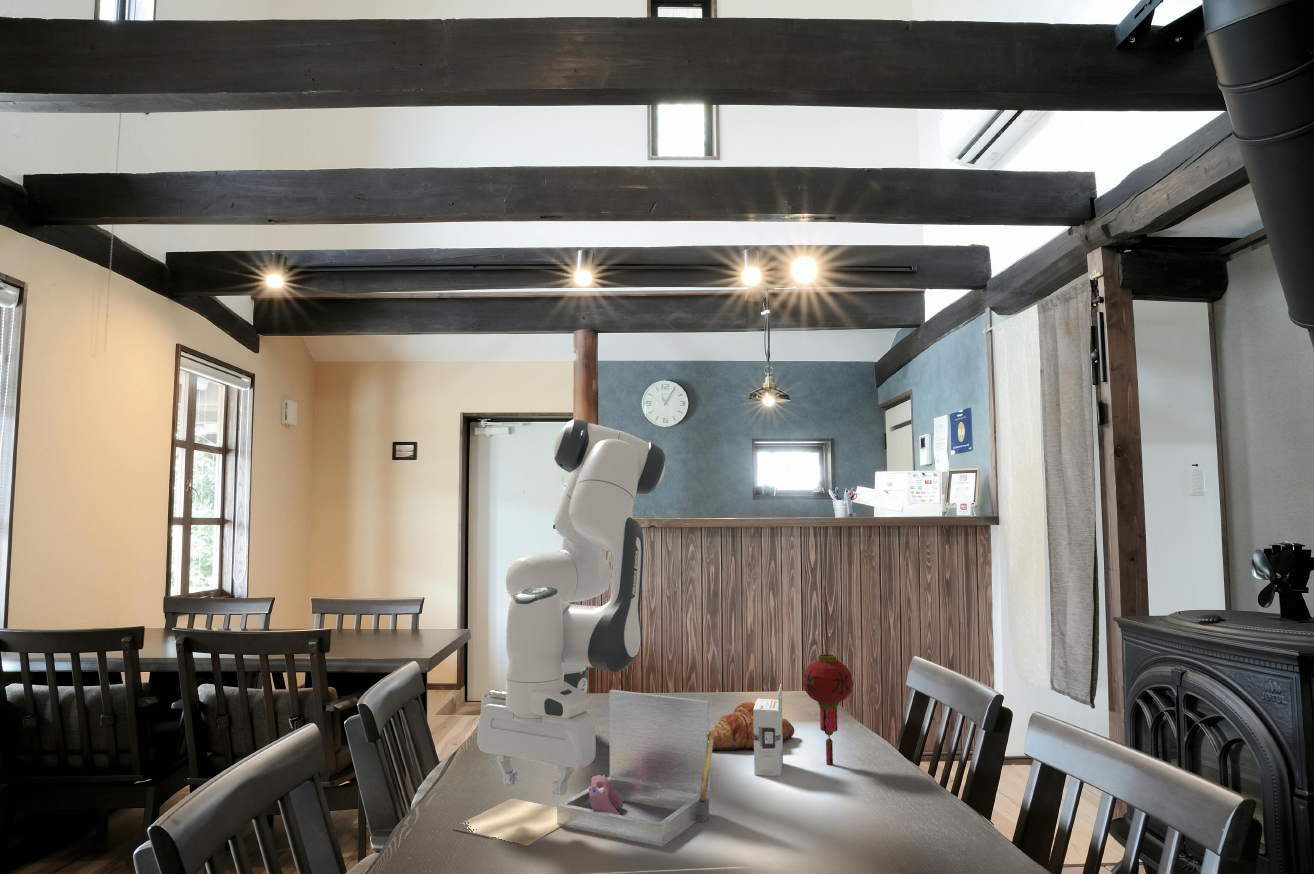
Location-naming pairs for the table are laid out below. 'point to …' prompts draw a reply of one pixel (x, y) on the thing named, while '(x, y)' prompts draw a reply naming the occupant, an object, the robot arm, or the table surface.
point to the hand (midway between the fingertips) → (534, 788)
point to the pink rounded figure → (604, 795)
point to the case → (651, 767)
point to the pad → (516, 821)
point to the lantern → (828, 690)
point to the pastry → (741, 729)
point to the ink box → (768, 736)
